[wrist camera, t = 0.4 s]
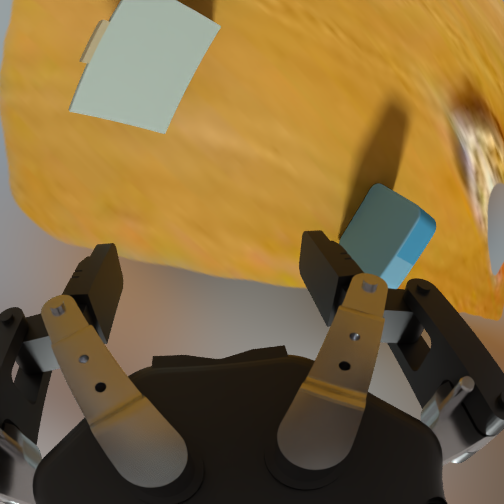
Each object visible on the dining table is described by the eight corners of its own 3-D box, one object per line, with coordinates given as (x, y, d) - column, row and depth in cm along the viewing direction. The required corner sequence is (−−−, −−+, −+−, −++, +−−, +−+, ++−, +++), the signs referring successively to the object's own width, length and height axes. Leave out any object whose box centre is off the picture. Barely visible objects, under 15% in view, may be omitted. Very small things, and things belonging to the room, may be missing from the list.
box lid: (123, -19, 14) (129, -22, 14) (213, 26, 23) (222, 26, 22) (60, 107, 19) (62, 110, 18) (159, 130, 28) (165, 134, 27)
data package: (355, 253, 47) (392, 296, 37) (335, 244, 45) (372, 288, 35) (392, 192, 43) (441, 223, 32) (374, 179, 41) (423, 209, 31)
